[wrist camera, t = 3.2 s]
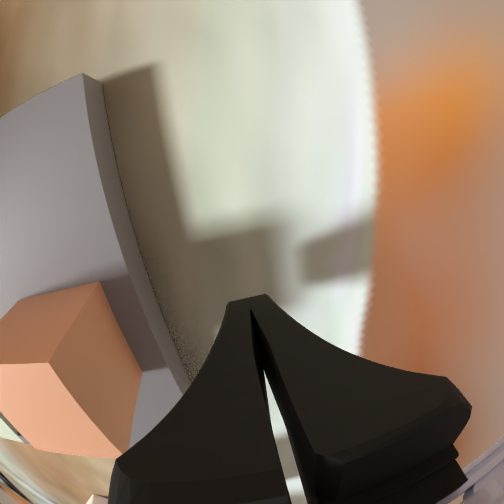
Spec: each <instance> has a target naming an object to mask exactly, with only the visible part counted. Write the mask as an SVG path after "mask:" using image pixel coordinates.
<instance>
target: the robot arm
mask: <svg viewBox="0 0 504 504" xmlns="http://www.w3.org/2000/svg"><path fill="white" fill-rule="evenodd" d="M264 372H265V374H266V377H267V379H268V382H269V385H270V387H271V390H272V392H273V395H274V397H275V400H276V403H277V405H278V408H279V410H280V413H281V415H282V418H283V420H284V423H285V426H286V429H287V433H288V436H289V440H290V443H291V447H292V450H293V454H294V457H295V461H296V464H297V468H298V471H299V475H300V478H301V482H302V486H303V489H304V493H305V496H306V500H307V503H308V504H448V503H450V502H451V501H453V500H454V499H456V498H457V497H459V496H460V495H461V494H463V493H464V492H465V494H464V496H463V501H462V503H460V504H504V437H502V438H501V439H500V440H499V441H498V442H497V443H495V444H494V445H493V446H492V447H491V448H489V449H488V450H487V451H486V452H485V453H483V454H482V455H481V456H480V457H478V458H477V459H476V460H474V461H473V462H472V463H470V464H469V465H467V466H466V467H465V468H463V469H461V468H460V466H459V464H458V463H457V461H456V460H455V459H456V458H457V457H458V451H457V450H456V448H455V447H454V445H453V443H454V442H455V440H456V439H457V437H458V436H459V435H460V433H461V432H462V430H463V429H464V427H465V426H466V424H467V422H468V420H469V418H470V415H471V409H472V406H471V405H470V403H469V402H468V401H467V400H466V398H465V397H464V396H463V394H462V393H461V392H460V391H459V389H458V388H456V386H455V385H454V384H453V383H452V382H451V381H450V380H449V379H448V378H447V377H443V376H435V375H428V374H422V373H414V372H409V371H405V370H400V369H397V368H393V367H389V366H385V365H382V364H378V363H375V362H372V361H370V360H367V359H364V358H362V357H359V356H356V355H354V354H351V353H349V352H347V351H344V350H342V349H340V348H338V347H336V346H334V345H332V344H330V343H329V342H327V341H325V340H323V339H322V338H320V337H319V336H317V335H315V334H314V333H312V332H311V331H309V330H308V329H306V328H305V327H304V326H302V325H301V324H300V323H298V322H297V321H296V320H294V319H293V318H292V317H291V316H289V315H288V314H287V313H286V312H285V311H283V310H282V309H281V308H280V307H279V306H278V305H277V304H276V303H275V302H274V301H273V300H272V299H271V298H270V297H269V296H268V295H266V294H263V295H258V296H254V297H250V298H245V299H241V300H236V301H231V302H229V303H228V304H227V306H226V311H225V315H224V318H223V322H222V325H221V327H220V330H219V332H218V335H217V337H216V340H215V342H214V344H213V346H212V348H211V350H210V353H209V355H208V357H207V359H206V361H205V362H204V364H203V366H202V368H201V369H200V371H199V373H198V374H197V376H196V377H195V379H194V381H193V382H192V384H191V385H190V386H189V388H188V389H187V390H186V392H185V393H184V394H183V396H182V397H181V399H180V400H179V401H178V402H177V403H176V405H175V406H174V407H173V408H172V409H171V411H170V412H169V413H168V414H167V415H166V416H165V417H164V418H163V419H162V420H161V421H160V422H159V423H158V424H157V425H156V426H155V427H154V428H153V429H152V430H151V431H150V432H149V433H148V434H147V435H146V436H145V437H143V438H142V439H141V440H140V441H138V442H137V443H136V444H135V445H133V446H132V447H131V448H130V449H128V450H127V451H126V452H125V453H123V454H122V455H121V456H119V457H118V458H116V460H115V465H114V468H113V471H112V475H111V481H110V488H109V496H108V504H292V503H291V500H290V496H289V492H288V489H287V485H286V481H285V477H284V474H283V470H282V466H281V462H280V458H279V455H278V451H277V447H276V443H275V439H274V435H273V431H272V425H271V420H270V412H269V405H268V398H267V391H266V384H265V377H264ZM0 504H1V503H0Z"/></svg>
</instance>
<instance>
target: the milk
mask: <svg viewBox="0 0 504 504" xmlns="http://www.w3.org/2000/svg"><path fill="white" fill-rule="evenodd" d="M86 504H108V499H107V498H104V497H101V496H98V495H95V494H93V495H92V496H91V498H90V499H89V500H88V502H87V503H86Z"/></svg>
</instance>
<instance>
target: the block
mask: <svg viewBox="0 0 504 504" xmlns="http://www.w3.org/2000/svg"><path fill="white" fill-rule="evenodd" d="M141 377H142V370H141V368H140V366H139V365H138V363H137V361H136V359H135V357H134V355H133V353H132V351H131V349H130V347H129V345H128V343H127V341H126V339H125V337H124V335H123V333H122V331H121V329H120V327H119V325H118V323H117V321H116V318H115V316H114V314H113V312H112V310H111V307H110V305H109V303H108V300H107V298H106V296H105V293H104V291H103V288H102V286H101V283H100V281H99V282H94V283H90V284H85V285H81V286H76V287H72V288H68V289H63V290H59V291H54V292H50V293H46V294H41V295H37V296H32V297H28V298H24V299H19V300H18V301H17V302H16V303H15V304H14V306H13V307H12V308H11V309H10V310H9V311H8V312H7V313H6V314H5V315H4V316H3V318H2V319H1V320H0V412H1V413H2V414H3V415H4V416H5V417H6V419H7V420H8V421H9V422H10V423H11V424H12V425H13V426H14V427H15V428H16V430H17V431H18V432H19V433H20V434H21V435H22V436H23V437H24V438H25V439H26V440H27V441H28V442H29V443H30V444H31V445H32V446H33V447H34V448H36V449H39V450H44V451H50V452H56V453H63V454H70V455H78V456H88V457H100V458H118V457H119V456H121V455H122V454H123V453H125V452H126V451H127V450H128V449H129V443H130V437H131V431H132V425H133V419H134V413H135V408H136V402H137V397H138V392H139V387H140V382H141Z"/></svg>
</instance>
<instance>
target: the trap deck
mask: <svg viewBox="0 0 504 504" xmlns="http://www.w3.org/2000/svg"><path fill="white" fill-rule="evenodd" d="M99 281H100V283H101V286H102V288H103V291H104V293H105V296H106V298H107V300H108V303H109V305H110V307H111V310H112V312H113V314H114V316H115V318H116V321H117V323H118V325H119V327H120V329H121V331H122V333H123V335H124V337H125V339H126V341H127V343H128V345H129V347H130V349H131V351H132V353H133V355H134V357H135V359H136V361H137V363H138V365H139V366H140V368H141V370H142V377H141V382H140V387H139V392H138V397H137V402H136V408H135V413H134V419H133V425H132V431H131V437H130V443H129V449H130V448H131V447H132V446H133V445H135V444H136V443H137V442H138V441H140V440H141V439H142V438H143V437H145V436H146V435H147V434H148V433H149V432H150V431H151V430H152V429H153V428H154V427H155V426H156V425H157V424H158V423H159V422H160V421H161V420H162V419H163V418H164V417H165V416H166V415H167V414H168V413H169V412H170V411H171V409H172V408H173V407H174V406H175V405H176V403H177V402H178V401H179V400H180V399H181V397H182V396H183V394H184V393H185V392H186V390H187V389H188V388H189V386H190V385H191V384H192V383H191V381H190V379H189V376H188V374H187V372H186V370H185V368H184V365H183V363H182V361H181V359H180V356H179V354H178V352H177V349H176V347H175V345H174V342H173V340H172V338H171V335H170V333H169V330H168V328H167V325H166V323H165V320H164V318H163V315H162V312H161V310H160V307H159V305H158V302H157V299H156V296H155V294H154V291H153V288H152V285H151V282H150V280H149V277H148V274H147V271H146V268H145V265H144V262H143V259H142V256H141V253H140V249H139V246H138V243H137V240H136V236H135V233H134V230H133V226H132V223H131V219H130V216H129V212H128V209H127V205H126V201H125V197H124V193H123V189H122V185H121V181H120V177H119V173H118V169H117V164H116V160H115V155H114V150H113V146H112V141H111V135H110V130H109V125H108V119H107V113H106V107H105V101H104V94H103V87H102V83H100V82H98V81H96V80H95V79H93V78H91V77H89V76H87V75H85V74H83V73H81V74H79V75H77V76H75V77H72V78H70V79H68V80H66V81H64V82H62V83H60V84H58V85H56V86H54V87H52V88H50V89H48V90H46V91H44V92H42V93H40V94H38V95H37V96H35V97H33V98H31V99H29V100H28V101H26V102H24V103H23V104H21V105H19V106H18V107H16V108H14V109H13V110H11V111H10V112H8V113H7V114H5V115H3V116H2V117H0V320H1V319H2V318H3V316H4V315H5V314H6V313H7V312H8V311H9V310H10V309H11V308H12V307H13V306H14V304H15V303H16V302H17V301H18V300H19V299H24V298H28V297H32V296H37V295H41V294H46V293H50V292H54V291H59V290H63V289H68V288H72V287H76V286H81V285H85V284H90V283H94V282H99ZM0 437H3V438H6V439H10V440H14V441H19V442H23V443H28V444H30V443H29V442H28V441H27V440H26V439H25V438H24V437H23V436H22V435H21V434H20V433H19V432H18V431H17V430H16V428H15V427H14V426H13V425H12V424H11V423H10V422H9V421H8V420H7V419H6V417H5V416H4V415H3V414H2V413H1V412H0Z"/></svg>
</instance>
